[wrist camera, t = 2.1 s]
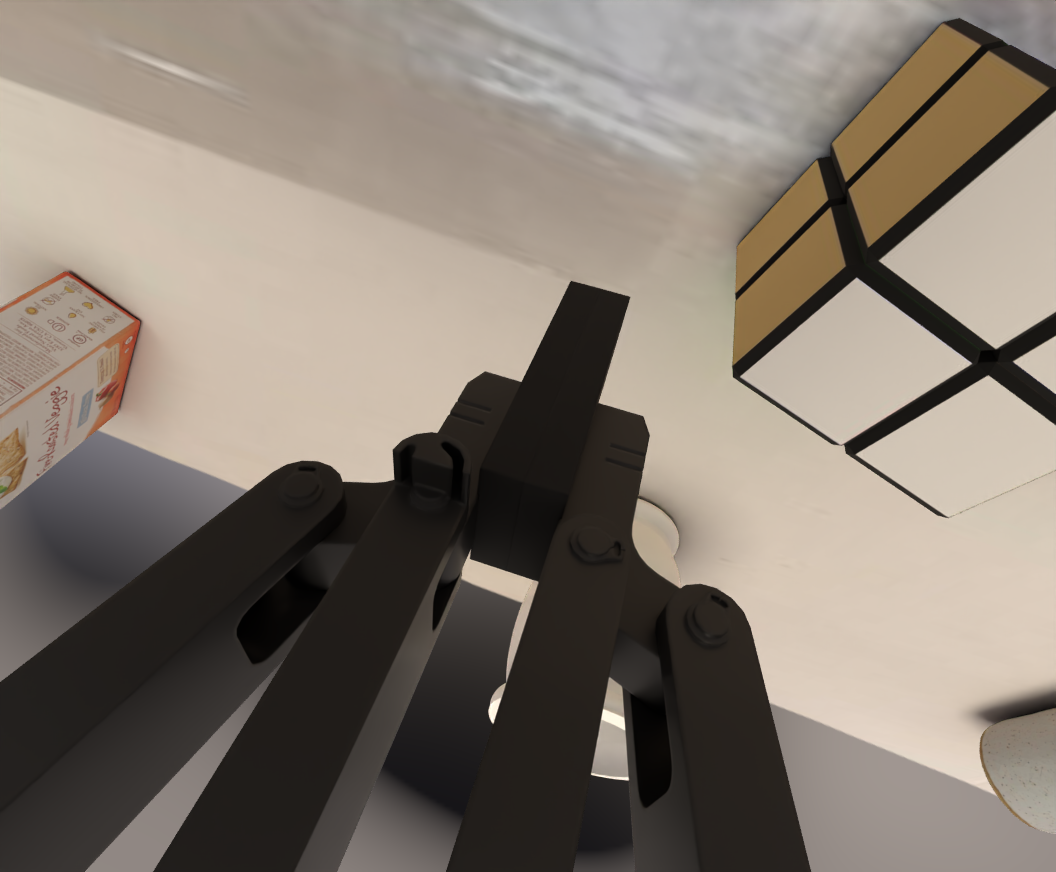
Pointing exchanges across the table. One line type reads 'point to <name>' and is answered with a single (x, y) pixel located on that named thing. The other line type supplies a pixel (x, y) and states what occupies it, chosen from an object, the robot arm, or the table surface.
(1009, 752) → the ceramic mug
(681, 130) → the table surface
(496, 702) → the jar
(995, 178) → the puzzle cube
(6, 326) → the cracker box
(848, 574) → the table surface
